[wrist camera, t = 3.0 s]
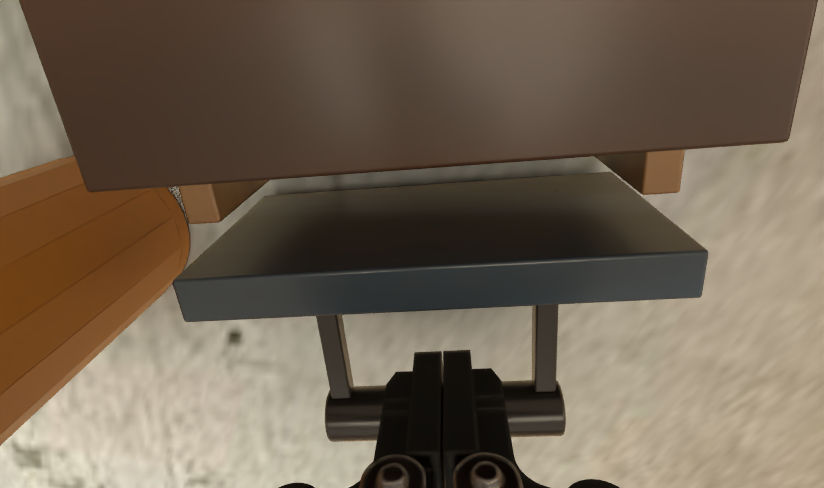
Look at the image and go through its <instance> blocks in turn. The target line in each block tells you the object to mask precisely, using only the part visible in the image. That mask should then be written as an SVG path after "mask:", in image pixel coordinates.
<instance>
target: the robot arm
mask: <svg viewBox="0 0 824 488" xmlns="http://www.w3.org/2000/svg"><path fill="white" fill-rule="evenodd" d="M279 488H314V487H313V486H311V485H309V484H305V483H291V484H287V485H284V486H281V487H279ZM349 488H549V487H546V486H543V485H540V484H538V483H536V482H534V481H533V480H531V479H530V478H528V477H527V476H526V475H525V474H524V473H523V472H522V471H521V470H520V469H519V467H518V466H517V464H516V461H515V458H514V454H513V448H512V442H511V436H510V430H509V424H508V418H507V412H506V406H505V400H504V394H503V388H502V382H501V380H500V379H499V377H498V376H497V375H496V374H495V372H494V371H493V370H492V369H491V368H488V369H472V366H471V355H470V350H458V351H444V352H443V362H442V352H441V351H435V352H415V354H414V364H413V371H409V372H396V373H395V374H394V375H393V377H392V378H391V379H390V381H389V382H388V383H387V385H386V389H385V396H384V402H383V408H382V415H381V420H380V426H379V432H378V438H377V444H376V450H375V456H374V461H373V462H372V463H371V464H370V465H369V466H368V467H367V468H366V469H365V471H364V473H363V475H362V477H361V480H360V481H359V482H358V483H356V484H355V485H353V486H351V487H349ZM569 488H619V487H618V486H616V485H613V484H611V483H609V482H606V481H602V480H595V479H587V480H582V481H578V482H576V483H574V484H572V485H571V486H570V487H569Z"/></svg>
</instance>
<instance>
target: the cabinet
mask: <svg viewBox="0 0 824 488" xmlns="http://www.w3.org/2000/svg"><path fill="white" fill-rule="evenodd" d="M19 2H20V5H21V7H22V10H23V13H24V16H25V19H26V21H27V24H28V27H29V30H30V32H31V35H32V38H33V41H34V44H35V46H36V49H37V52H38V55H39V58H40V60H41V63H42V66H43V69H44V72H45V74H46V77H47V80H48V83H49V86H50V88H51V91H52V94H53V97H54V100H55V102H56V105H57V108H58V111H59V114H60V116H61V119H62V122H63V125H64V128H65V130H66V133H67V136H68V139H69V142H70V144H71V147H72V150H73V153H74V156H75V158H76V161H77V164H78V167H79V170H80V172H81V175H82V178H83V181H84V184H85V186H86V189H87V191H88V192H106V191H120V190H134V189H148V188H161V187H175V186H189V185H203V184H217V183H230V182H244V181H258V180H272V179H285V178H299V177H313V176H327V175H341V174H354V173H368V172H382V171H396V170H409V169H423V168H437V167H451V166H465V165H478V164H492V163H506V162H520V161H533V160H547V159H561V158H575V157H589V156H602V155H616V154H630V153H644V152H657V151H671V150H685V149H699V148H713V147H726V146H740V145H754V144H768V143H781V142H785V141H788V139H789V136H790V131H791V127H792V122H793V117H794V112H795V107H796V103H797V98H798V93H799V88H800V83H801V79H802V74H803V69H804V64H805V59H806V55H807V50H808V45H809V40H810V35H811V31H812V26H813V21H814V16H815V11H816V7H817V2H818V0H19Z"/></svg>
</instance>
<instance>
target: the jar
mask: <svg viewBox="0 0 824 488" xmlns="http://www.w3.org/2000/svg"><path fill="white" fill-rule="evenodd" d="M189 247H190V239H189V231H188V226H187V222H186V219H185V217H184V214H183V212H182V210H181V208H180V206H179V204H178V203H177V201H176V199H175V198H174V196H173V195H172V194H171V193H170V191H169V190H168V189H167V188H166V187H161V188H148V189H134V190H120V191H106V192H88V191H87V189H86V186H85V184H84V181H83V178H82V175H81V172H80V170H79V167H78V164H77V161H76V158H75V156H72V157H68V158H65V159H57V160H54V161H51V162H48V163H45V164H42V165H39V166H36V167H33V168H30V169H27V170H23V171H20V172H17V173H14V174H11V175H8V176H5V177H2V178H0V445H1V444H2V443H3V442H4V441H6V440H7V439H8V438H9V437H10V436H11V435H12V434H13V433H14V432H15V431H16V430H17V429H18V428H20V427H21V426H22V425H23V424H24V423H25V422H26V421H27V420H28V419H29V418H30V417H31V416H32V415H33V414H35V413H36V412H37V411H38V410H39V409H40V408H41V407H42V406H43V405H44V404H45V403H46V402H47V401H48V400H50V399H51V398H52V397H53V396H54V395H55V394H56V393H57V392H58V391H59V390H60V389H61V388H62V387H63V386H65V385H66V384H67V383H68V382H69V381H70V380H71V379H72V378H73V377H74V376H75V375H76V374H77V373H78V372H80V371H81V370H82V369H83V368H84V367H85V366H86V365H87V364H88V363H89V362H90V361H91V360H92V359H94V358H95V357H96V356H97V355H98V354H99V353H100V352H101V351H102V350H103V349H104V348H105V347H106V346H107V345H109V344H110V343H111V342H112V341H113V340H114V339H115V338H116V337H117V336H118V335H119V334H120V333H121V332H122V331H124V330H125V329H126V328H127V327H128V326H129V325H130V324H131V323H132V322H133V321H134V320H135V319H136V318H137V317H139V316H140V315H141V314H142V313H143V312H144V311H145V310H146V309H147V308H148V307H149V306H150V305H151V304H153V303H154V302H155V301H156V300H157V299H158V298H159V297H160V296H161V295H162V294H163V293H164V292H165V291H166V289H167V288H168V287H169V286H170V285H171V284H172V283H173V280H174V279H175V278H176V277H177V276H178V275H179V274H181V272H182V271H183V269H184V267H185V265H186V262H187V259H188V255H189Z"/></svg>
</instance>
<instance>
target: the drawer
mask: <svg viewBox="0 0 824 488" xmlns="http://www.w3.org/2000/svg"><path fill="white" fill-rule="evenodd" d="M684 152H685V150H671V151H657V152H644V153H630V154H616V155H602V156H595V157H596V158H597V159H598V160H600V161H601V162H602V163H603V164H605V165H606V166H607V167H608V168H610V169H611V170H612V171H613V172H615V173H616V174H617V175H618V176H620V177H621V178H622V179H623V180H625V181H626V182H627V183H628V184H630V185H631V186H632V187H633V188H635V189H636V190H637V191H638V192H640V193H641V194H643V195H647V194H663V193H677V192H679V190H680V183H681V175H682V167H683V160H684ZM268 181H269V180H258V181H244V182H230V183H217V184H203V185H189V186H178V187H179V190H180V194H181V198H182V201H183V205H184V208H185V212H186V215H187V219H188V222H189V223H190V224H201V223H216V222H220V221H222V220H223V219H224V218H225V217H227V216H228V215H229V214H230V213H231V212H232V211H234V210H235V209H236V208H237V207H238V206H240V205H241V204H242V203H243V202H244V201H245V200H247V199H248V198H249V197H250V196H251V195H252V194H254V193H255V192H256V191H257V190H258V189H260V188H261V187H262V186H263V185H264V184H265V183H267V182H268ZM707 259H708V251H707V250H706V249H705V248H704V247H703V246H701V245H700V244H699V243H698V242H696V241H695V240H694V239H693V238H691V237H690V236H689V235H688V234H687V233H685V232H684V231H683V230H682V229H680V228H679V227H678V226H677V225H676V224H674V223H673V222H672V221H671V220H669V219H668V218H667V217H666V216H664V215H663V214H662V213H661V212H660V211H658V210H657V209H656V208H655V207H653V206H652V205H651V204H650V203H649V202H647V201H646V200H645V199H644V198H642V197H641V196H640V195H639V194H637V193H636V192H635V191H634V190H633V189H631V188H630V187H629V186H628V185H626V184H625V183H624V182H623V181H621V180H620V179H619V178H618V177H617V176H615V175H614V174H613V173H611V172H603V173H589V174H574V175H560V176H546V177H531V178H517V179H503V180H488V181H474V182H460V183H445V184H431V185H416V186H402V187H388V188H373V189H359V190H345V191H330V192H316V193H302V194H287V195H273V196H265V197H263V198H262V199H261V200H260V201H259V202H258V203H257V204H256V205H255V206H254V207H252V208H251V209H250V210H249V211H248V212H247V213H246V214H245V215H244V216H243V217H242V218H240V219H239V220H238V221H237V222H236V223H235V224H234V225H233V226H232V227H231V228H230V229H228V230H227V231H226V232H225V233H224V234H223V235H222V236H221V237H220V238H219V239H218V240H216V241H215V242H214V243H213V244H212V245H211V246H210V247H209V248H208V249H207V250H206V251H204V252H203V253H202V254H201V255H200V256H199V257H198V258H197V259H196V260H195V261H194V262H192V263H191V264H190V265H189V266H188V267H187V268H186V269H185V270H184V271H183V272H182V273H181V274H179V275H178V276H177V277H176V278H175V279H174V280H173V286H174V289H175V292H176V295H177V299H178V302H179V305H180V308H181V312H182V315H183V318H184V320H185V322H197V321H218V320H239V319H260V318H281V317H302V316H316V317H317V322H318V328H319V333H320V338H321V343H322V349H323V354H324V359H325V365H326V370H327V375H328V380H329V386H330V391H329V393H328V396H327V400H326V406H325V427H326V433H327V436H328V439H329V440H330V441H333V442H339V441H377V438H378V432H379V426H380V420H381V415H382V408H383V402H384V396H385V389H386V385H384V386H355V387H353V386H354V385H353V379H352V373H351V367H350V361H349V355H348V349H347V343H346V337H345V331H344V325H343V319H342V315H344V314H365V313H386V312H406V311H427V310H448V309H469V308H490V307H511V306H532V305H533V309H532V380H526V381H501V382H502V388H503V394H504V400H505V406H506V412H507V418H508V424H509V430H510V436H511V437H535V436H561V435H563V434H564V432H565V425H566V417H565V406H564V399H563V394H562V390H561V387H560V385H559V383H558V381H556V363H557V331H558V304H574V303H594V302H615V301H636V300H657V299H678V298H699V297H701V295H702V290H703V284H704V278H705V271H706V265H707Z"/></svg>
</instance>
